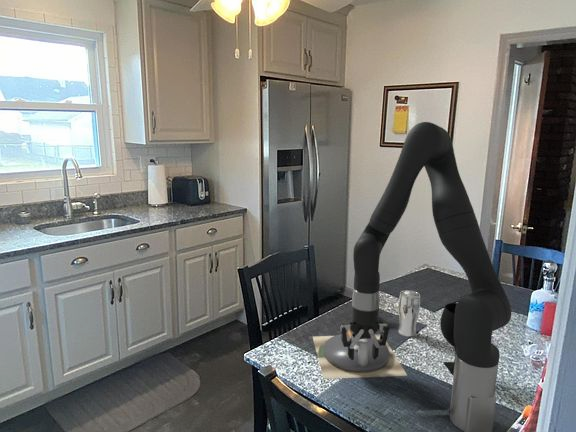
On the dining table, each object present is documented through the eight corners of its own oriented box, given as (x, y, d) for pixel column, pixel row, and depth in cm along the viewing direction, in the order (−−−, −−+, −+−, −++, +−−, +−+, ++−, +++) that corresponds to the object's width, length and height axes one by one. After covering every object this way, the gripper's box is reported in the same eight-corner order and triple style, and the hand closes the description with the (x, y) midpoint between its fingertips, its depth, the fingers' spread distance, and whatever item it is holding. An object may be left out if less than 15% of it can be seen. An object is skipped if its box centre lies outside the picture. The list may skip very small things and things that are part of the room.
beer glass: (418, 340, 139) (421, 299, 136) (397, 338, 140) (399, 297, 137) (416, 331, 145) (419, 291, 142) (396, 329, 147) (398, 289, 144)
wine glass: (443, 359, 128) (449, 298, 124) (478, 371, 121) (486, 308, 117) (430, 374, 120) (436, 310, 116) (468, 388, 114) (475, 321, 109)
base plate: (407, 378, 118) (407, 375, 117) (323, 382, 116) (323, 378, 116) (382, 337, 141) (382, 333, 141) (312, 339, 139) (312, 336, 139)
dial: (398, 370, 119) (400, 344, 117) (329, 373, 118) (330, 346, 116) (377, 334, 140) (378, 311, 138) (318, 336, 139) (319, 312, 137)
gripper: (343, 310, 112) (340, 366, 116) (395, 309, 113) (391, 364, 117) (337, 299, 119) (335, 352, 123) (386, 298, 120) (383, 350, 124)
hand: (362, 358), depth 120 cm, fingers open, 6 cm apart
